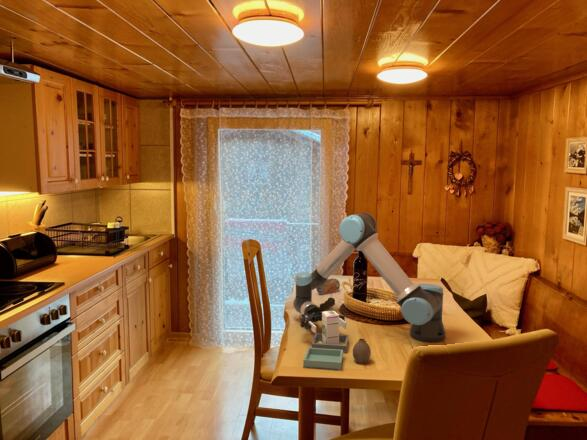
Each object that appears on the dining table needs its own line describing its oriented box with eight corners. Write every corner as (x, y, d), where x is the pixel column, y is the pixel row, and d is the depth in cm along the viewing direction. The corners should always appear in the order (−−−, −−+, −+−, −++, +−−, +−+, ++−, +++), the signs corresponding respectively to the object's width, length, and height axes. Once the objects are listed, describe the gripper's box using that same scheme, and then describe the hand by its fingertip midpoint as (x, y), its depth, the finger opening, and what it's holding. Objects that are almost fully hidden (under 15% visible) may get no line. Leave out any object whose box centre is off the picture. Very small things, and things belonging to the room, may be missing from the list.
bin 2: (343, 357, 189) (343, 349, 189) (340, 370, 177) (340, 362, 177) (307, 354, 192) (307, 347, 191) (303, 367, 180) (303, 359, 179)
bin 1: (348, 342, 205) (348, 335, 204) (346, 353, 193) (346, 346, 192) (315, 339, 207) (315, 333, 207) (311, 350, 195) (311, 343, 195)
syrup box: (339, 348, 198) (340, 314, 196) (326, 349, 196) (326, 315, 194) (334, 343, 203) (334, 309, 202) (321, 344, 202) (321, 311, 200)
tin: (318, 295, 273) (318, 281, 272) (315, 294, 275) (315, 280, 274) (340, 292, 280) (340, 278, 279) (337, 290, 283) (337, 276, 282)
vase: (354, 356, 190) (354, 335, 188) (371, 358, 188) (372, 337, 187) (351, 363, 183) (351, 341, 182) (369, 366, 181) (369, 343, 180)
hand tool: (328, 303, 259) (328, 295, 258) (335, 304, 257) (335, 296, 256) (314, 314, 242) (314, 305, 241) (322, 315, 240) (322, 306, 239)
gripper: (336, 317, 223) (357, 332, 203) (285, 323, 214) (302, 340, 194) (336, 301, 222) (357, 315, 202) (285, 307, 213) (302, 322, 193)
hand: (330, 327), depth 198 cm, fingers open, 13 cm apart
